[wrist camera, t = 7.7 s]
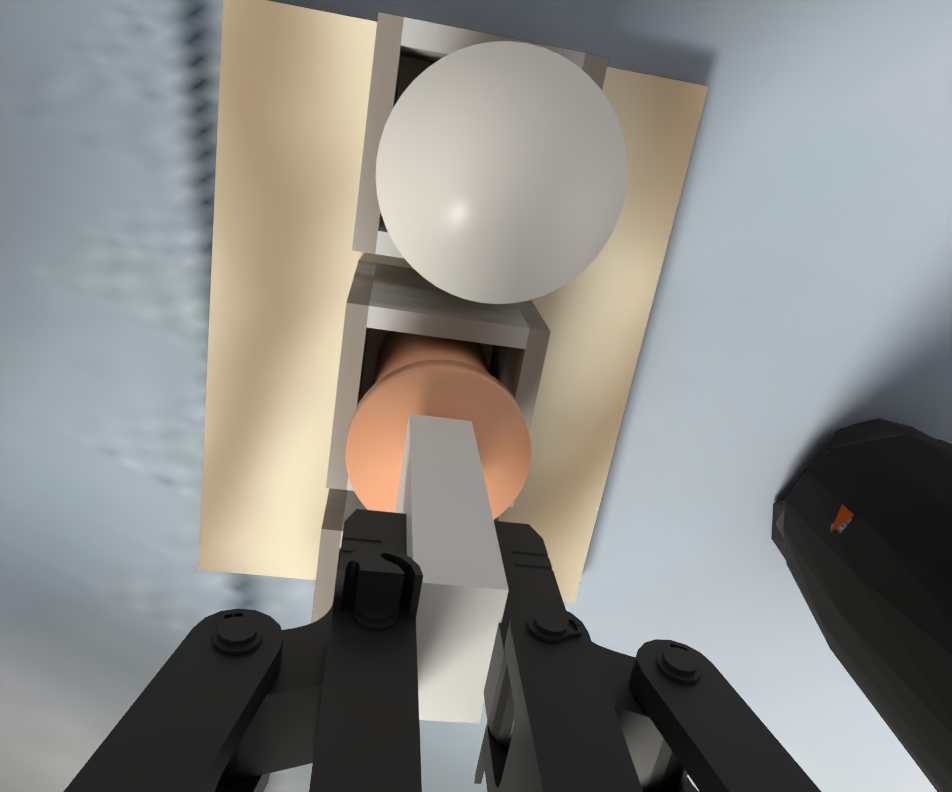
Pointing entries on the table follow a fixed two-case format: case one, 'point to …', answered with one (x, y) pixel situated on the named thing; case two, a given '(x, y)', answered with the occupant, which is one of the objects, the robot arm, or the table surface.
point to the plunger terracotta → (439, 395)
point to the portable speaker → (882, 575)
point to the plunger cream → (501, 172)
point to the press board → (394, 291)
